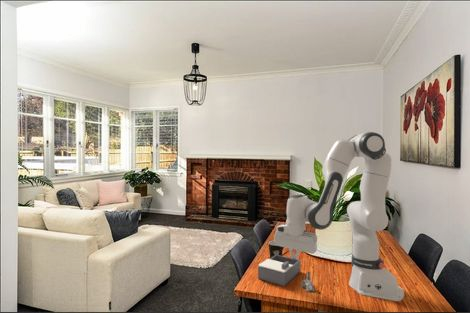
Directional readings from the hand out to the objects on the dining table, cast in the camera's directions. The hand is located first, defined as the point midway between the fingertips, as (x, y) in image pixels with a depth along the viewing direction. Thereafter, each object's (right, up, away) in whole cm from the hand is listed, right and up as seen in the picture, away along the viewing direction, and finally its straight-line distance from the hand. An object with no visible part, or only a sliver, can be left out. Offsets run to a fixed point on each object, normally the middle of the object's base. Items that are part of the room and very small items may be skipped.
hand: (294, 258), depth 130 cm
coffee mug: (-3, -12, +29) cm, 32 cm away
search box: (-5, -12, +10) cm, 17 cm away
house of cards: (+4, -13, -2) cm, 14 cm away
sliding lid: (-8, -6, +6) cm, 12 cm away
